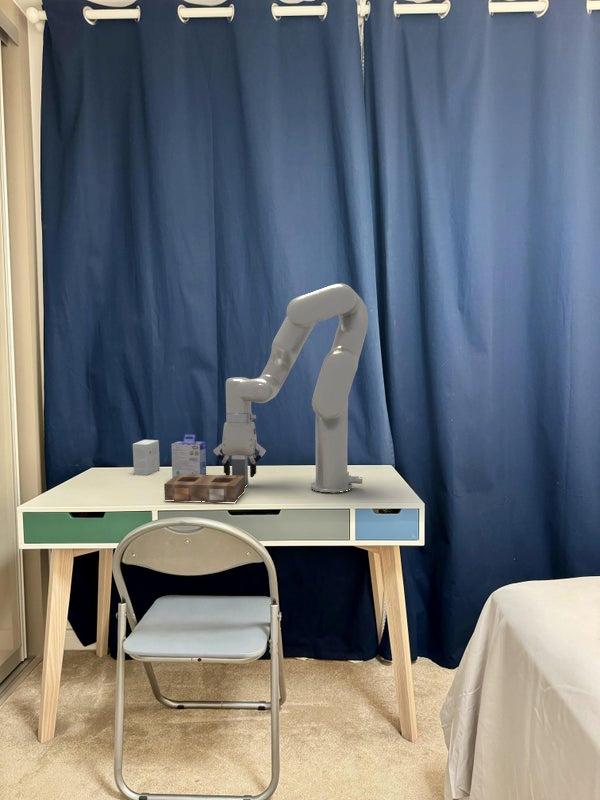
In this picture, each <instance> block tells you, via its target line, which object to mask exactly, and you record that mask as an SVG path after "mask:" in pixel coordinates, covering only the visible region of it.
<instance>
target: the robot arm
mask: <svg viewBox="0 0 600 800" xmlns="http://www.w3.org/2000/svg"><path fill="white" fill-rule="evenodd" d="M335 317H338V325H337V328H336V331H335V335H334V336H335V337H334V339H333V343H332V346H331V348H330V351H329V352H328V353H326V355H325V356H324V359H323V361H322V364H321V367H320V370H319V375H318V377H317V380H316V385H315V387H314V391H313V395H312V398H311V406H312V407H311V408H312V410H313V412H314V413H315V426H314V427H315V432H314V433H315V434H314V435H315V481H313V482H311V483H310V489H311V490H312V489H313V490H312V491H314V490H315V491H314V492H317V491H320V492H319V493H321V492H340V491H346V490H349V489H351V488H352V487H353V484H356V485H363V477H362V476H361V477H360V476H358V475H357V476H356V475H355V476H353V475H350V471H348V433H349V431H348V426H349V425H348V422H349V421H348V418H349V417H348V415H349V395H350V393H351V388H352V385H353V383H354V382H353V381H354V379H355V375H356V372H357V371H358V367H359V361H360V356H361V354H362V350H363V347H364V342H365V339H366V335H367V331H368V327H369V326H368V325H369V314H368V309H367V306H366V304H365V302H364V301H363V299H362V298H361V297H360V296H359V294H358V293H357V292H356V291H355V290H354V289H353V288H352V287H351V286H349V285H348V284H346V283H342V282H339V283H334V284H331V285H328V286H326V287H325V286H324V288H323V287H322V288H319V289H317V290H315V291H312V292H309V293H305V294H302V295H299V296H296V297H295V298H293V299H292V300H291V301H290V302H289V303H288V304H287V308H286V316H285V318H284V320H283V322H282V324H281V326H280V328H279V330H278V331H277V333H276V335H275V337H274V338H273V341H272V342H271V343H272V344H271V352H270V355H269V358H268V361H267V363H266V365H265V367H264V368H263V371H262V373H261V374H260V375H259V377H257V378H255V377H254V378H247V377H244V376H243V377H239V376H238V377H237V376H236V377H230V378H229V377H228V378H227V379H226V381H225V404H226V405H225V409H226V412H225V413H226V414H225V415H226V416H225V417H226V421H225V422H224V424H223V430H222V440H221V441H222V442H221V443H220V444H218V445H217V447H215V448H214V449H213V453H214V454H215V455H216V456H217V458H218V459H219V461H221V463H222V465H223V474H224V475H231V461H230V460H229V459H230V458H231V457H232V455H245V456H248V460H249V461H250V464H249V476H250V478H253V477H254V476H255V475H257V462H258V461H260V460H261V458H262V457H263V456H264V455H265V453H266V452H267V450H266V449H265V448H264V447H263V446H261V445H260V444H259V443H258V440H257V439H258V438H257V431H256V424H255V422H254V421H253V420H256V419H257V414H253V413H252V403H257V404H264V403H267V402H269V401H270V400H273V399H274V398H275V397H276V396H277V395H278V394H279V392H280V390H281V389H282V387H283V385H284V383H285V381H286V379H287V378H288V376H289V374H290V372H291V370H292V369H293V366H294V364H295V363H296V361H297V359H298V356H299V355H300V352H301V351H302V348H303V347H304V345H305V344H306V341H307V339H308V338H309V336H310V334H311V332H312V331H313V329H314V327H315V326H316V324H317V323H319V322H323V321H326V320H329V319H331V318H335ZM221 451H222V453H221ZM257 452H259V453H258V455H255V453H257ZM353 488H354V487H353ZM353 488H352V489H353Z"/></svg>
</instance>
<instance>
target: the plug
mask: <svg viewBox="0 0 600 800" xmlns="http://www.w3.org/2000/svg"><path fill="white" fill-rule="evenodd" d="M248 460H249V457H248V456H245V455H232V456H231V475H239V476H244V481H245V486H246V485H247V484H248V485H249V461H248ZM248 485H247V486H248Z"/></svg>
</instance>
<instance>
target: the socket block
mask: <svg viewBox="0 0 600 800" xmlns="http://www.w3.org/2000/svg"><path fill="white" fill-rule="evenodd" d="M163 486H164V487H163V488H164V489H163V490H164V492H163V493H164V501H165V500H174V501H201V502H202V501H205V502H235V501H236V500H237V499H238V497H239V496H240V495H241V494H242V493H243V492H244V491H245V489H246V488H245V481H244V476H239V475H232V474H230V475H225V474H206V475H196V474H178V475H177V476H175V477H174V478H172V477H171V479H170V480H167V482H165V483H164V485H163ZM245 492H246V491H245ZM238 500H239V499H238Z"/></svg>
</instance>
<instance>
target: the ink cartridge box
mask: <svg viewBox="0 0 600 800" xmlns="http://www.w3.org/2000/svg"><path fill="white" fill-rule="evenodd" d="M188 437H189V438H188ZM190 437H191V438H190ZM195 439H196V434H186V433H185V434H184V438H183V441H175V442H173V443H171V479H172V478H174V477H175V476H177V475H178V474H196V475H207V450H206V441H196V440H195Z"/></svg>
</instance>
